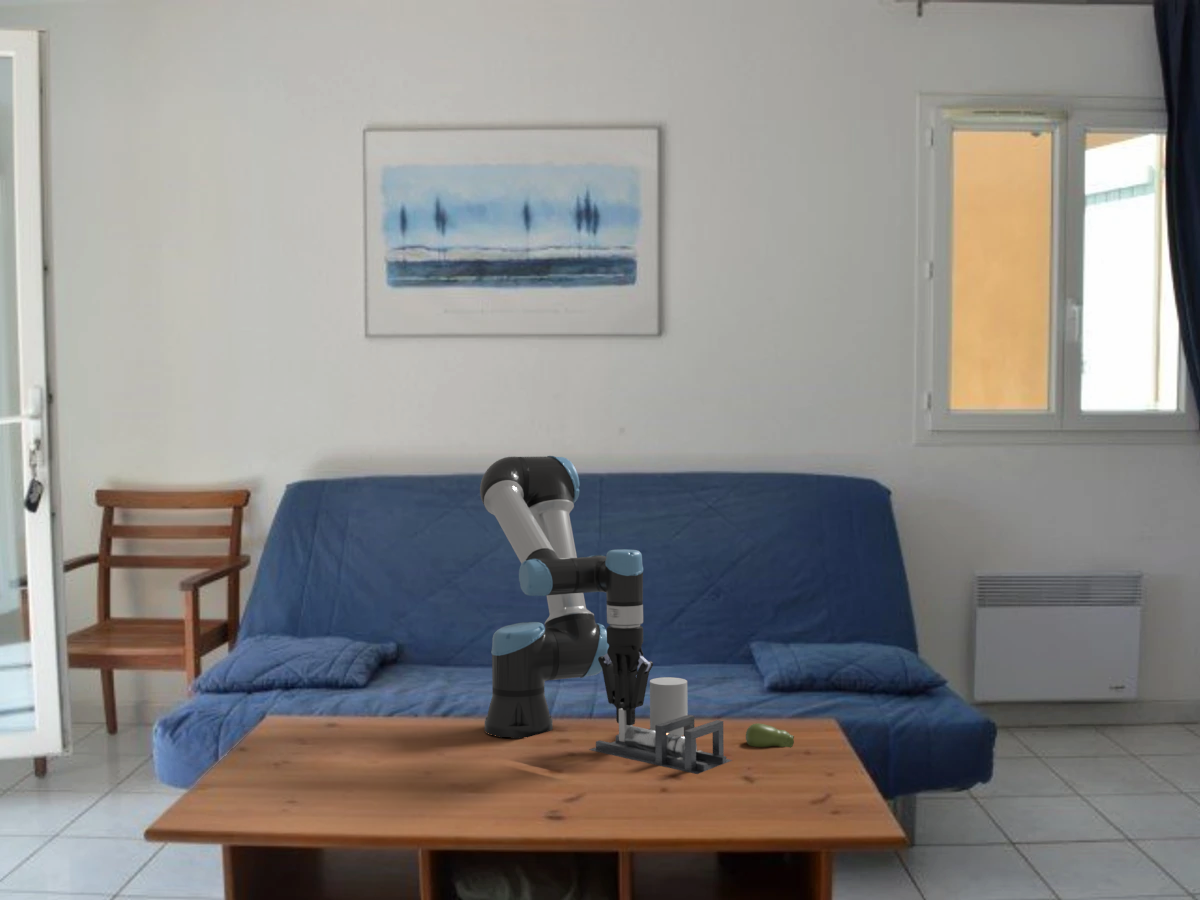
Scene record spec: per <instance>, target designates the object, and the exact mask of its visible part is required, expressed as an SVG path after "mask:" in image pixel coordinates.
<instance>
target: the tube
mask: <svg viewBox="0 0 1200 900" xmlns="http://www.w3.org/2000/svg"><path fill="white" fill-rule="evenodd" d="M624 741H625V745H626V746H628V747H633V748H637V749H642V750H647V751H651V752H656V742H655V730H650V728H649V729H648V728H644V727H639V726H634V725H633V726H630V727H629V728H628V729H627V730H626V733H625V737H624ZM697 749H698V744H697V743H696V751H697ZM667 755H670V756H675V757H679V758H680V757H682V758H684V759H685V736H684V735H682V736H680V735H675V734H670V733H667Z"/></svg>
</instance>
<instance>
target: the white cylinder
mask: <svg viewBox="0 0 1200 900" xmlns="http://www.w3.org/2000/svg"><path fill="white" fill-rule="evenodd" d="M686 715H688V680H686V679H685V678H680V677H670V676H667V677H666V676H665V677H664V676H663V677H655V678H652V679H650V680H649V729H650V730H655V725H658V724H661V723H664V722H667V721H670V720H673V719H676V718H680V717H683V716H686ZM667 733H670V734H675V735H680V736H684V727H682V728H679V729H676V730H673V731H670V732H667Z"/></svg>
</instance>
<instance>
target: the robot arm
mask: <svg viewBox="0 0 1200 900" xmlns="http://www.w3.org/2000/svg"><path fill="white" fill-rule="evenodd" d="M579 487H580V478H579V474H578V471H577V469H576V467H575V465H574V464H573V462H572V461H571V460H570V459H568V458H567V457H563V456H554V455H547V456H507V457H506V456H505V457H503V458H500V459H498V460H496V461H495V462H493V463H492V464H491V465H490V466H489V467H487V469H486V471H485V472H484V474H483V475H482V478H481V482H480V486H479V494H480V500H481V502H482V504H483V506H484V508H485V510H486V511H487V512H488V513H489V514H491V515H493V516H494V517H495V518H496V520H497V522H498V524H499V526H500V527H501V529H502V531H503V533H504V535H505V536H506V539H507V540H508V542H509V543H510V545H511V547H512V549H513V551H514V553H515V555H516V556H517V558H518V560H519V562H520V566H519V570H518V582H519V583H520V589H521V591H522V593H524V595H526V596H530V597H531V596H539V597H546V602H547V607H548V613H549V616H548V617H547V619H546V620H545V622H544V624H543V623H542V622H538V621H529V622H525V621H524V622H518V623H512V624H509V625H504V626H502V627H500V628H498V629H497V630H496V631H495V632H494V633H493V635H492V645H491V651H490V652H491V665H492V666H491V668H492V670H491V672H492V674H491V679H492V681H491V682H492V683H491V686H492V690H491V691H492V693H491V694H492V696H491V700H490V702H489V707H488V710H487V716H486V717H485V719H484V732H485V731H486V732H487V733H489V734H492V735H496V736H500V737H499V738H502V737H512V738H511V739H523V738H522V737H527V738H531V737H534V736H537V735H541V734H544V733H548V732H551V731H553V730H552V729H553V727H554V726H553V725H554V724H553V717H552V715H550V709H549V706H548V702H547V698H546V695H545V691H546V690H545V683H546V681H556V680H566V679H567V680H568V679H576V678H578V679H583V678H584V679H585V678H586V677H587V678H588V677H593V676H596V675H598V674H600V673H601V672H602V676H603V681H604V687H605V691H606V697H607V702H608V704H609V705H611V704H612V705H613V706H614V707H615V709H616V710H615V711H616V713H615V714H616V716H615V717H616V723H617V724H618V734H619V741H622V742H625V741H624V737H625V733H626V730H627V729H628V728H629V727H630V726H634V725H635V723H636V708H639V707H643V705H644V701H645V697H646V691H647V685H648V680H649V676H650V672H651V670H652V668H653V666H654V663H653V661H652V660H647V659H646V658H645V657H644V652H643V651H644V650H643V649H642V648H643V647H642V646H643V644H644V627H643V626H642V624H643V623H644V604H643V601H644V600H643V599H644V596H643V595H644V577H643V576H644V566H643V555H642V552H640V551H639V550H638V549H637V550H636V549H627V548H626V549H623V548H621V549H612V550H611V549H610V550H608V551H607V553H606V556H605V555H604V554H597V555H596V554H593V555H589V556H584V557H583V556H581V557H578V555H577V551H576V545H575V540H574V534H573V533H574V532H573V528H572V527H573V526H572V522H571V517H570V513H571V512H572V511H573V509H574V508H575V505H574V504H575V503H576V501H578V498H579V496H580V489H579ZM598 592H599V593H605V594H606V595H605V596H606V624H608V625H607V627H605V625H603V624H601V623H598V622H597V623H596V619H595V614H594V612H591V611H590V610H589V609H588V608H587V606H586V600H585V595H584V593H586V594H587V593H598ZM486 732H485V733H486ZM487 733H486V734H487ZM489 734H488V735H489Z"/></svg>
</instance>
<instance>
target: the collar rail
mask: <svg viewBox="0 0 1200 900" xmlns="http://www.w3.org/2000/svg"><path fill="white" fill-rule="evenodd" d="M682 727H684V735H683V736H685V759H684V758H682V757H680V758H679V757H675V756H670V755H667V732H670V731H673V730H676V729H679V728H682ZM710 734H712V753H711V752H708V751H703V750H701V749H699V750H697V751H696V744H697V739H698V738H701V737H704V736H706V735H710ZM655 742H656V752H651V751H647V750H642V749H637V748H633V747H628V746H626V745H625V742H622V741H619V733H618V734H616V735H615V740H614V741H612V742H609V741H605V740H601V739H600V740H596V741H595V747H593V748H590V749H588V750H589V751H592V752H597V753H601V754H605V755H611V756H614V757H619V758H623V759H627V760H631V761H637V762H642V763H645V764H650V765H655V766H660V767H663V768H669V769H672V770H678V771H682V772H686V773H690V774H694V775H695V774H696V775H699V774H702V773H703V772H707V771H708V770H712V769H714V768H717V767H719V766H721V765H724V764H727V763H729V762H732V761H733V760H732V759H730V758H729V759H728V758H727V756H726V755H724V753H725V752H724V751H725V750H724V721H723V720H720V719H719V720H718V719H716V720H713V721H709V722H707V723H704V724H701V725H698V726H695V715H693V714H687V715H686V716H683V717H680V718H676V719H673V720H670V721H667V722H664V723H661V724H658V725H655Z"/></svg>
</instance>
